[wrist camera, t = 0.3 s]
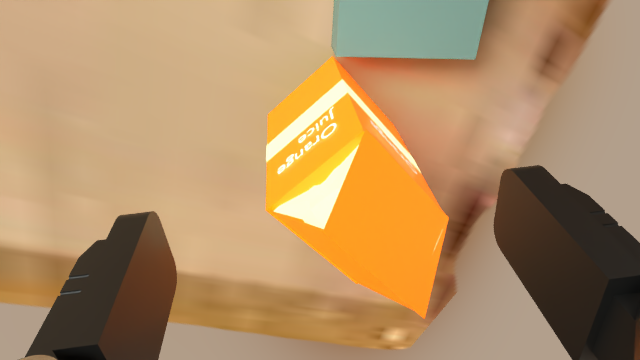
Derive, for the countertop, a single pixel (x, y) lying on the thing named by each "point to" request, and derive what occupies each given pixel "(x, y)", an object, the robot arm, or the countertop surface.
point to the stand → (408, 28)
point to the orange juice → (353, 188)
